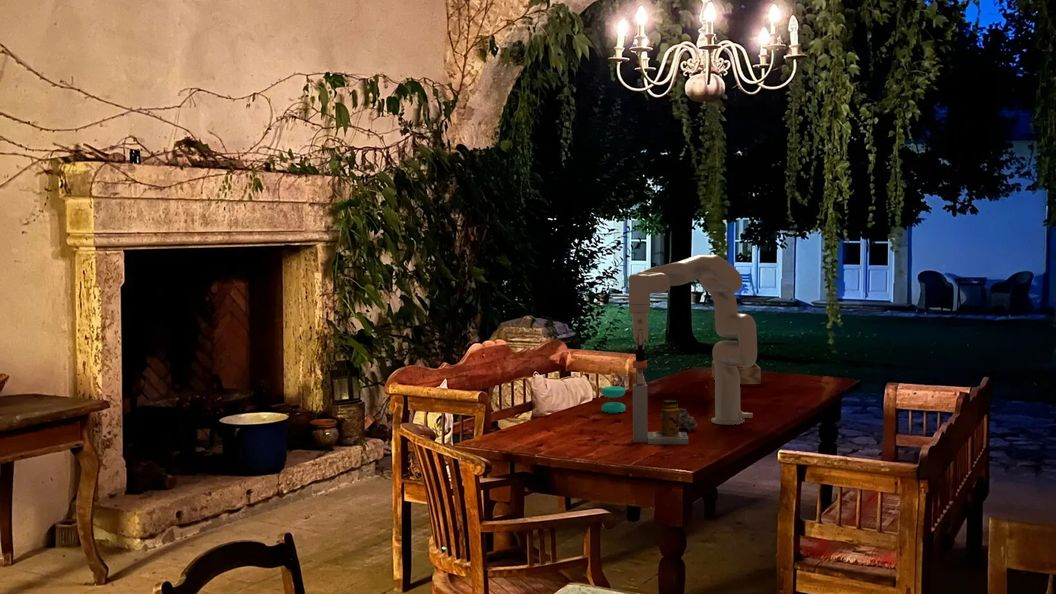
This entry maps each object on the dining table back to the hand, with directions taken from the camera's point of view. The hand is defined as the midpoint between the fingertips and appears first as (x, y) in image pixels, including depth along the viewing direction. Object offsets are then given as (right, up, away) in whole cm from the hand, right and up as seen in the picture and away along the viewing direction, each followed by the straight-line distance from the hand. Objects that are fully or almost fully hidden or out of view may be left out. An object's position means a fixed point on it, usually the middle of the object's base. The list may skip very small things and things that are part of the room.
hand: (640, 360), depth 370 cm
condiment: (+10, -26, +1) cm, 28 cm away
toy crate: (+61, -19, +138) cm, 152 cm away
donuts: (-4, -25, +62) cm, 67 cm away
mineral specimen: (+17, -27, +21) cm, 39 cm away
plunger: (0, -13, +1) cm, 13 cm away
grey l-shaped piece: (+7, -28, +1) cm, 29 cm away
